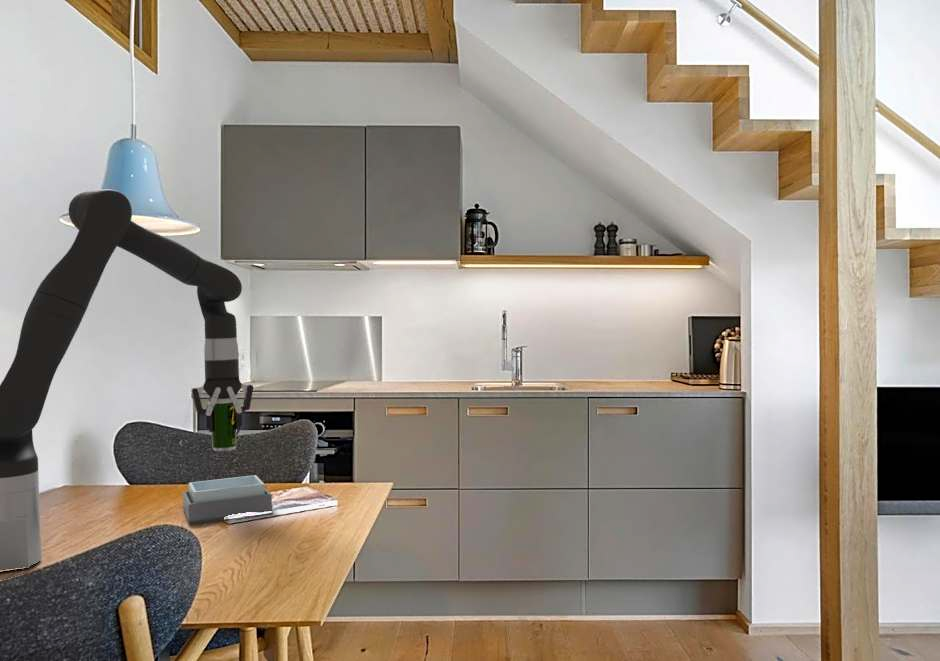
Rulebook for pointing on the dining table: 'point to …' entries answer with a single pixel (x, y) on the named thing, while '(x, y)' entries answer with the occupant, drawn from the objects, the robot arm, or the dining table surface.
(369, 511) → the dining table surface
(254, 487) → the top crate
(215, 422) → the beer can
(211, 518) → the bottom crate
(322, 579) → the dining table surface
